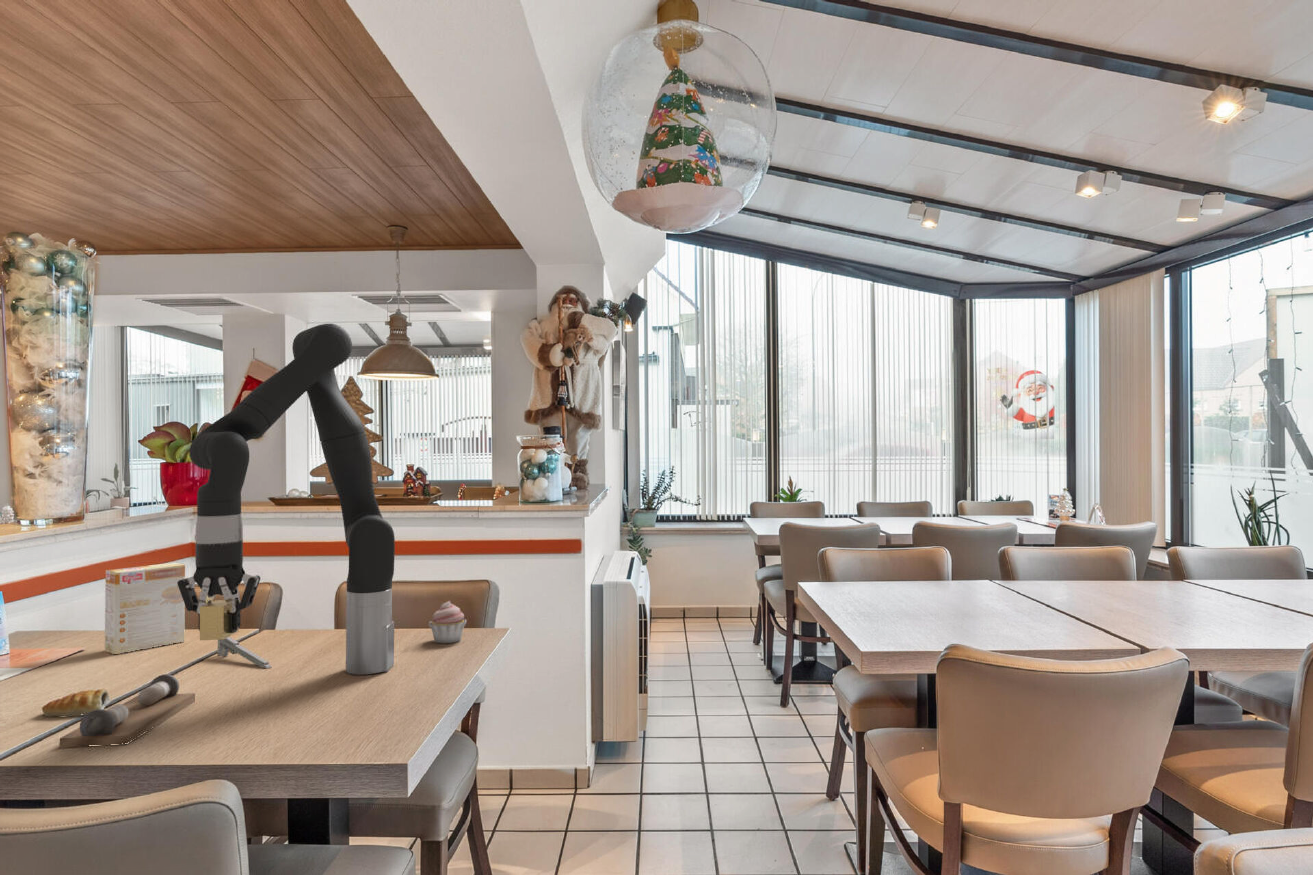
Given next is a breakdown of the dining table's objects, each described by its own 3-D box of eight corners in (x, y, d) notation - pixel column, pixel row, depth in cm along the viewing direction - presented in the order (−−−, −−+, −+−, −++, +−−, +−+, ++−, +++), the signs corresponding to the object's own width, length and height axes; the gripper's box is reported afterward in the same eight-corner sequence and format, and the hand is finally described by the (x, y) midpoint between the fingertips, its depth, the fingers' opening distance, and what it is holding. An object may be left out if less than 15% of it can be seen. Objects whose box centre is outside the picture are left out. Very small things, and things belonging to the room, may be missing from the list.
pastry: (35, 722, 127) (36, 700, 127) (50, 710, 133) (51, 689, 133) (101, 714, 130) (101, 693, 131) (112, 703, 137) (112, 683, 137)
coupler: (238, 631, 137) (238, 599, 137) (223, 639, 131) (223, 605, 131) (215, 632, 136) (215, 600, 136) (199, 640, 130) (199, 606, 130)
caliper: (217, 656, 169) (217, 629, 169) (221, 655, 170) (222, 628, 170) (267, 670, 158) (267, 641, 158) (272, 668, 159) (272, 640, 159)
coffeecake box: (173, 638, 185) (174, 561, 186) (185, 642, 181) (186, 564, 182) (103, 651, 173) (104, 569, 174) (114, 655, 169) (115, 571, 170)
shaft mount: (194, 701, 137) (195, 672, 137) (127, 744, 116) (127, 710, 116) (138, 703, 136) (138, 674, 136) (59, 747, 115) (60, 713, 115)
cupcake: (461, 645, 177) (461, 604, 177) (423, 645, 177) (423, 604, 177) (471, 636, 186) (471, 597, 187) (435, 636, 186) (435, 597, 187)
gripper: (268, 536, 138) (268, 626, 138) (188, 538, 137) (188, 629, 136) (251, 540, 131) (251, 636, 131) (167, 543, 129) (167, 639, 129)
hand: (219, 632), depth 133 cm, fingers closed on coupler, 4 cm apart
